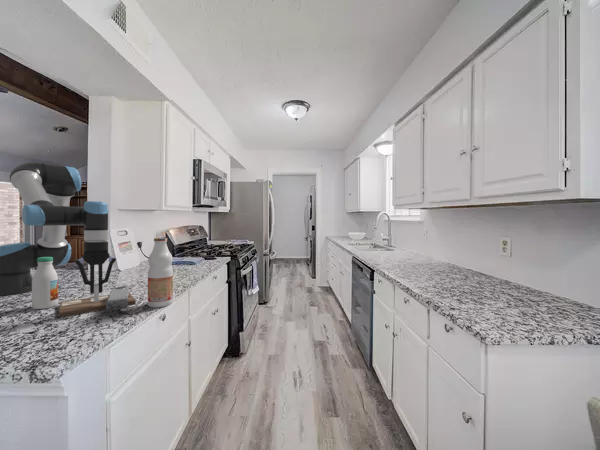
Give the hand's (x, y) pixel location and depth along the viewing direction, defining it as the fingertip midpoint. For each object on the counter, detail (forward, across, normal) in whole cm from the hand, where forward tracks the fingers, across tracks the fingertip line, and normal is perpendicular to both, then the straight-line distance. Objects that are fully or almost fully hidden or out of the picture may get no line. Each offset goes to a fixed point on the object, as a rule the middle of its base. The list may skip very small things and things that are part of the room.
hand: (96, 301), depth 105 cm
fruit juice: (+4, -22, +6) cm, 23 cm away
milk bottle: (+4, +17, -16) cm, 23 cm away
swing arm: (+1, -7, -1) cm, 8 cm away
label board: (+4, 0, -7) cm, 8 cm away
